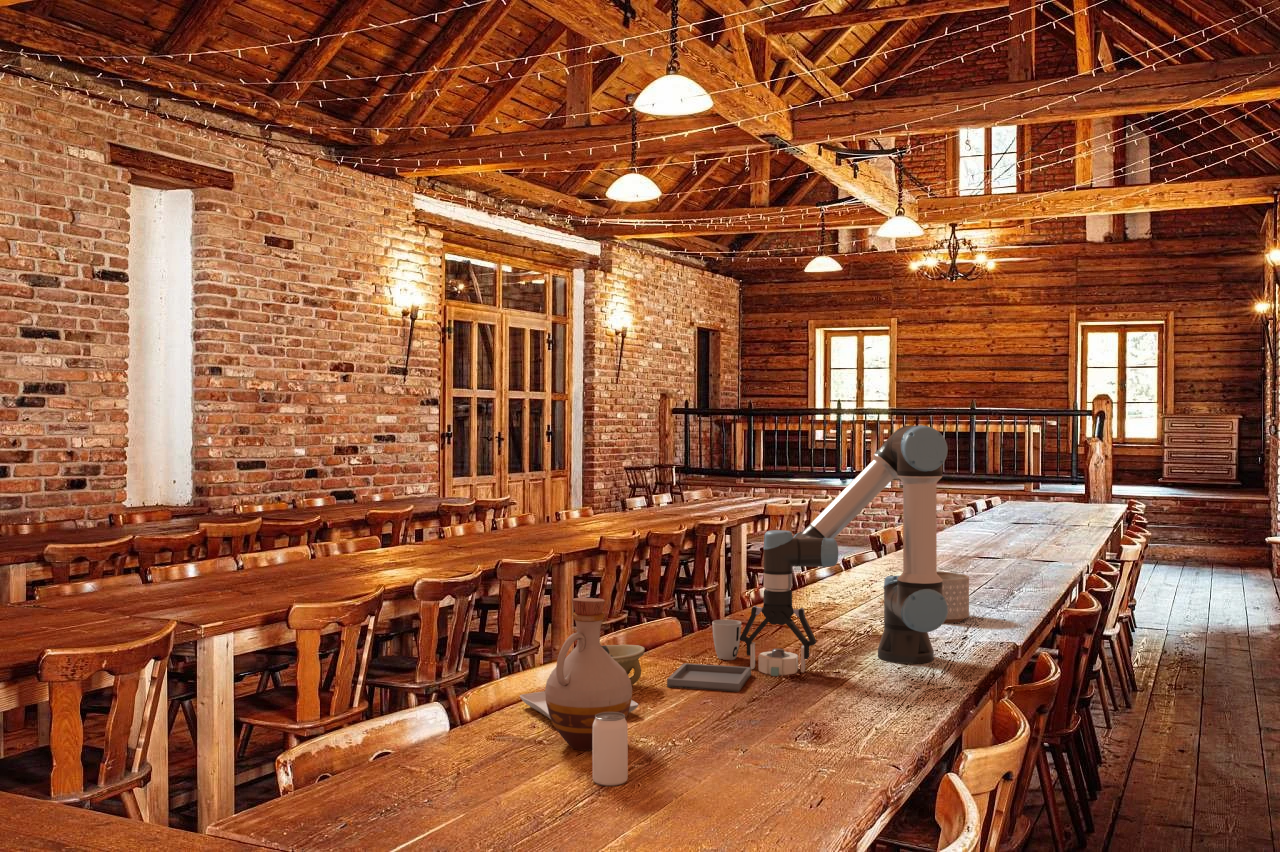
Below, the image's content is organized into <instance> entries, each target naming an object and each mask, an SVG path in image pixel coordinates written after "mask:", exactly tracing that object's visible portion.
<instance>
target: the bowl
mask: <svg viewBox="0 0 1280 852" xmlns="http://www.w3.org/2000/svg"><path fill="white" fill-rule="evenodd" d="M601 647H602V648H603V649H604V650H605V651H606V652H607V653H608V654H609V655H610V656H611V657H612V658H613V659H614V660H615V661H616V662H617V663H618V664H619V665H620V666H621V667H622V668H623V669H624V670H625V671H626V673H627V675H628V676H629V675H630V673H631V672H632V670H633V671H634V672H633V674H632V676H631V677H630V676H629V678H630V680H631V685H632V686H633V685H634V684H636V683H637V682H638V681H639V680H640V678H641V676H642V667H641V663H640V660H639V659H640V658H641V657H642V656H644V653H645V650H646V648H645V647H644V646H641V645H637V644H636V645H635V644H608V645H605V644H604V645H601Z"/></svg>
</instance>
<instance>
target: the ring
mask: <svg viewBox="0 0 1280 852" xmlns="http://www.w3.org/2000/svg"><path fill="white" fill-rule="evenodd" d="M757 657H758V670H757V671H759V672H761V673H763V674H765V675H770V676H771V677H773V676H774V677H779V676H788V675H793V674H797V672H798V671H799V655H798V654H797V653H794V652H790V651H784V658H773V657H772V650H768V651H762V652H760V653H759V654H758V655H757Z"/></svg>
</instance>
